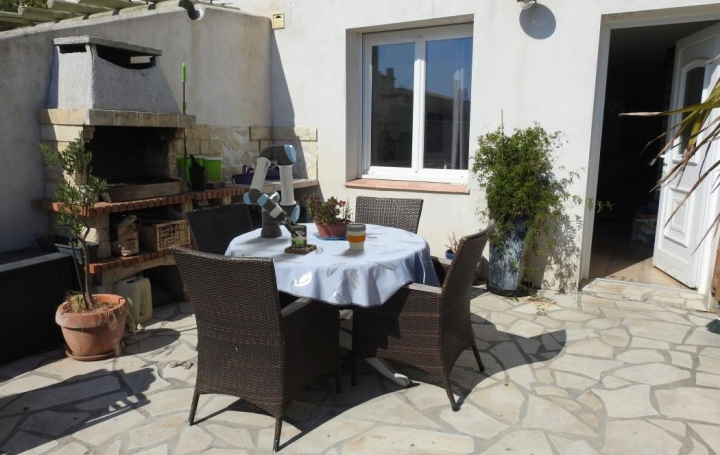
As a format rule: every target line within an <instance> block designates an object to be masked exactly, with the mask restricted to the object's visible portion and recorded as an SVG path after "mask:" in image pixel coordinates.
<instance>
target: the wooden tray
mask: <svg viewBox="0 0 720 455" xmlns="http://www.w3.org/2000/svg"><path fill="white" fill-rule="evenodd" d="M317 249H318V248H317V244H311V243H307V248H306V249H302V250H300V249H292V248H291V245H289V246H287V247H285V248H284V251H283V252H284V253H287V254H297V255H307V254H309V253H311V252H313V251H315V250H317Z"/></svg>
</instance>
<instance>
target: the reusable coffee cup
mask: <svg viewBox="0 0 720 455" xmlns="http://www.w3.org/2000/svg"><path fill="white" fill-rule="evenodd" d="M366 230H367V225H366V224H364V223H358V222H357V223H350V224H349V223H348V224H346V232H347V233H346V235H347V241H348V245H349V250H352V251H361V250H364V248H365V242H366V238H367V233H366Z"/></svg>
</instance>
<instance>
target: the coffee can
mask: <svg viewBox="0 0 720 455" xmlns="http://www.w3.org/2000/svg"><path fill="white" fill-rule="evenodd" d="M292 227H293V228H294V230H295V231H297V232H298V233H299V234H300V235H301V236H302V237H303V239H302V240H301V241H300V240H299V239H298V238H296V237H295V236H294V235H293V234H292V235H291V234H290V246H291V248H292V249H300V250H302V249H306V248H307V244H308V231H307V230H308V225H306V224H299V225H292Z"/></svg>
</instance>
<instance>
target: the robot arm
mask: <svg viewBox="0 0 720 455" xmlns="http://www.w3.org/2000/svg"><path fill="white" fill-rule="evenodd" d="M296 153H297V152H296V150H295V147H294V146H293V145H291V144H269V145H266V146H265V147H264V148H263V149H261V151H260V152H259V154H258V156H257V158H256V163H257V164H256V166H255V171H254V174H253V177H252V180H251V184H250V186H249V187H250V188H249V191H248V192H245V193H244V194H243V203H244V204H246V205H259V206H260V207H261V219H262V221H261V222H262V226H261V230H260V237H261V238H265V239H271V238H272V239H273V238H279V237H282V236H283V231H282V228H281V227H280V222H281V224H282V225H283V226H284V227H285V229H286V230H287V231H288V232H289V233H290V236H291V235H292V234H293V235H294V236H295V237H296V238H298V239H299V240H300V241H301V240H302V239H303V237H302V236H301V235H300V234H299V233H298V232H297V231H295V230H294V228H293V227H292V225H300V223H297V221H298V220H299V216H300V214H301V213H300V212H301V208H300V205H299V204H297V202H296V200H295V194H294V180H293V166H294V165H295V164H294V163H295V162H296V161H297V154H296ZM272 163H276V166H277V167H278V168H279V180H280V193H281V194H280V193H278V191H275V190H272V191H270V192H262V191H263V190H262V189H263V186H264V183H265V180H266V176H267V173H268V169H269V167H270V166H271V164H272ZM280 195H281V201H280V203H278V202H279V200H280Z"/></svg>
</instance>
